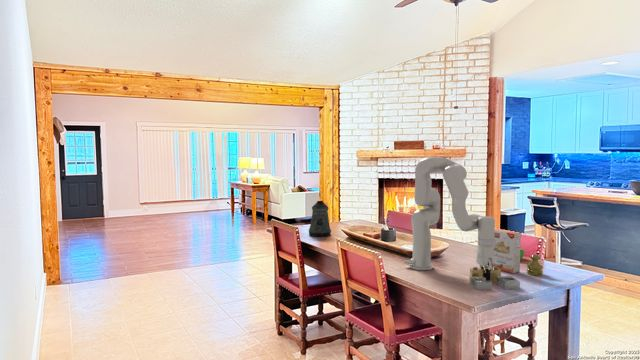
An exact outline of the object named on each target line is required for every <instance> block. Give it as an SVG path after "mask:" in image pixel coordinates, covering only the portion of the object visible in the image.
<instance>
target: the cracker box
mask: <svg viewBox="0 0 640 360" xmlns="http://www.w3.org/2000/svg"><path fill="white" fill-rule="evenodd" d="M521 235H522V232H516V231H512V230H506V229H501V228H495V236H494V246H493V250H494V265H493V267H498V268H499V269H501V272H505V273H509V274H516V273H520V271H521V270H520V269H521V259H520V243H522V242H521V241H522V240H521V239H522V236H521ZM493 267H492V268H493Z"/></svg>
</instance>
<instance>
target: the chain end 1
mask: <svg viewBox="0 0 640 360" xmlns="http://www.w3.org/2000/svg"><path fill="white" fill-rule="evenodd" d="M468 282H469V283H468V284H469V285H470V286H471V287H472V288H473V289H475V290H476V291H486V290H487V291H489V290H491V291H492V290H493V282H491V281H486V278H485V277H470V276H469V277H468Z"/></svg>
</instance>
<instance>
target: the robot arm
mask: <svg viewBox="0 0 640 360" xmlns="http://www.w3.org/2000/svg"><path fill="white" fill-rule="evenodd" d="M439 173H440V174H442V177H443V179H444V183H445V185H446V187H447V190H448V192H449V195H450V196H451V212H452V216H453V219H454V221H455V223H456V225H457V226H458V229H460V230H461V231H462V232H471V231H475V230H477V248H476V258H475V259H476V263H477V265H479V268H484V273H483V277H485V278H486V281H490V273H491V270H492V267H493V265H494V250H493V246H494V236H495V229H496V228H495V226H496V225H495V224H496V219H495V218H494V217H493V216H485V215H484V216H483V215H481V214H475V213H473V214H469V213H468V211H467V207H466V201H467V198H468V197H469V190H468V187H467V185H466V183H465V179H466V178H467V170H466V168H465V167H464V166H463V165H461V164H459V163H457V162H455V161H453V160H450V159H449V158H447V157H445V156H430V157H428V156H427V157H424V158H422V159H420V160H419V161H418V162H417V164H416V166H415V170H414V174H415V175H414V177H415V178H414V179H415V181H414V182H415V183H414V203H415V205H417V206H418V207H423V208H420V209H417V210H415V211H413V213H412V215H411V219H410V220H411V226H412V227H411V228H412V257H411V258H410V259H408V260H407V259H404V260H403V264H404V265H409V268H410V269H412V270H416V271H431V270H433V269H434V267H435V266H434V264H432V263H431V261H432V254H431V253H432V233H431V228H430V226H432V225H436V224H437V222H439V220H440V213H441V195H440V193H439V191H438V190H437V189H436V188H435V187H432V177H431V174H439ZM486 268H487V269H486Z"/></svg>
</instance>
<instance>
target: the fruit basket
mask: <svg viewBox="0 0 640 360" xmlns="http://www.w3.org/2000/svg"><path fill="white" fill-rule="evenodd" d="M521 243H522V242H521ZM521 243H520V260H522V259H523V257H524V255H525V253H526V250H524V249H522V245H521Z"/></svg>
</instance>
